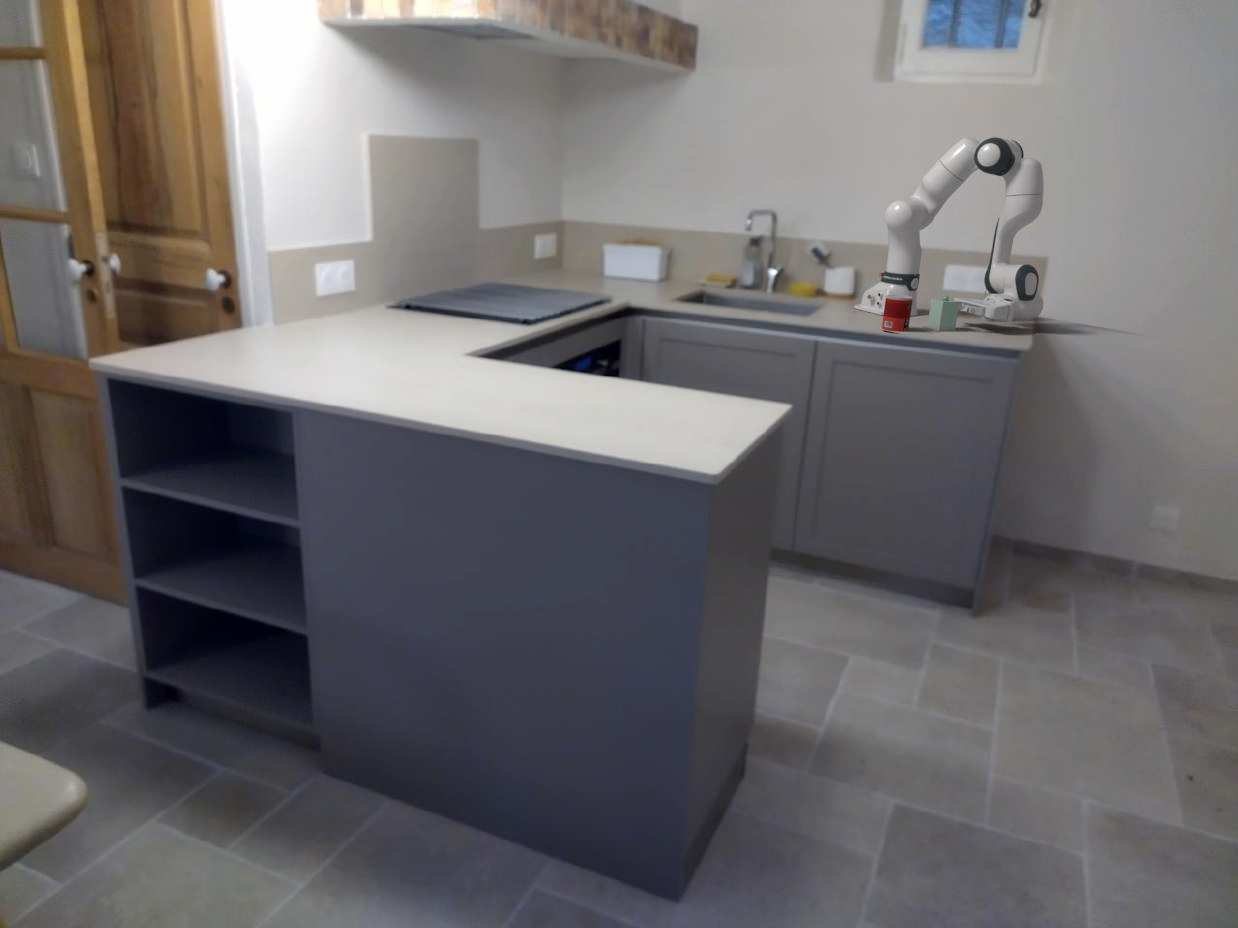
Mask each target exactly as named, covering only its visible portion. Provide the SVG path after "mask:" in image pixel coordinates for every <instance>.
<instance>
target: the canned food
mask: <svg viewBox="0 0 1238 928" xmlns="http://www.w3.org/2000/svg"><path fill="white" fill-rule="evenodd" d="M912 301H913V297H910V296H905V295H887V296H886V300H885V308H884V315H882V316H883V317H882V324H881V329H882V330H881V331H882V332H884V333H887V334H888V333H889V334H896V335H897V334H898V335H900V333H902V332H908V331H909V327H910V320H911V316H910V315H911V308H912ZM898 332H900V333H898Z"/></svg>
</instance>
